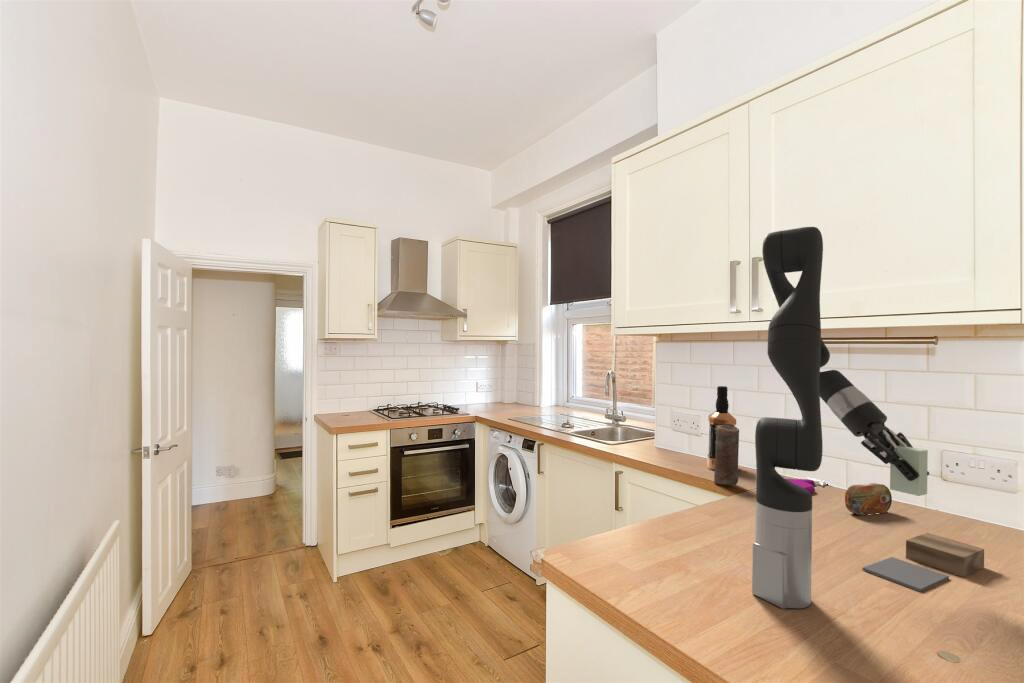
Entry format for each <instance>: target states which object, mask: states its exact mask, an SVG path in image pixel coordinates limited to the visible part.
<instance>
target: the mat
mask: <svg viewBox="0 0 1024 683" xmlns="http://www.w3.org/2000/svg"><path fill="white" fill-rule="evenodd" d="M863 570H865V571H864V572H866V571H868V572H870V573H869V574H871V573H872V574H871V575H874V574H875V575H874V576H876V575H878V576H877V577H879V576H880V578H882V577H883V578H882V579H884V578H885V580H887V579H888V580H887V581H890V582H892V581H893V583H895V584H897V585H900V584H901V586H903V587H906V588H909V589H911V590H914V591H917V592H919V593H922V592H924V591H926V590H928V589H931V588H933V587H935V586H937V585H940V584H942V583H944V582H945V581H947V580H949V579H950V576H949V575H946V574H944V573H941V572H937V571H935V570H932V569H928V568H926V567H923V566H920V565H917V564H914V563H911V562H908V561H906V560H903V559H899V558H896V557H893V556H890V557H887V558H885V559H882V560H879V561H877V562H874V563H871V564H868V565H866V566H863V567H862V571H863ZM868 572H867V573H868Z"/></svg>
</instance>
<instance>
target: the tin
mask: <svg viewBox="0 0 1024 683" xmlns="http://www.w3.org/2000/svg"><path fill="white" fill-rule="evenodd" d="M892 501H893V498H892V492H891V489H890V488H889V487H888V486H886V485H885V484H882V483H876V482H872V483H862V484H853V485H850V486H849V487H848V488H847V489H846V491H845V493H844V503H845V507H846V509H847V510H848V512H850V513H851V514H854V515H857V516H860V517H862V516H861V515H868V514H876V513H884V514H886V513H887V512H888V511H889V510H890V508H891V506H892ZM868 516H869V515H868Z"/></svg>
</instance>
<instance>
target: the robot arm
mask: <svg viewBox="0 0 1024 683" xmlns="http://www.w3.org/2000/svg"><path fill="white" fill-rule="evenodd" d="M823 252H824V241H823V234H822V232H821V230H820V229H819V228H818V227H817V226H803V227H799V228H798V227H797V228H792V229H784V230H778V231H773V232H768V234H766V235H765V237H764V238H763V240H762V261H763V265H764V269H765V272H766V275H767V278H768V280H769V283H770V286H771V290H772V292H773V295H774V297H775V299H776V302H777V306H778V310H777V311H775V313H774V315H773V316H772V317H771V320H770V322H769V324H768V330H767V331H768V332H767V352H766V353H767V357H768V359H769V361H770V363H771V364H772V366H773V368H774V369H775V371H776V372H777V374H778V375H779V376H780V378H781V379H782V380H783V382H784V383H785V384H786V386H787V387H788V389H789V390H790V392H791V394H792V395H793V397H794V399H795V401H796V404H797V405H798V407H799V410H800V415H801V418H800V419H793V418H792V419H791V418H783V417H781V418H780V417H769V416H768V417H767V416H766V417H761V418H760V419H758V421H757V423H756V426H755V433H754V434H755V435H754V437H755V438H754V440H755V441H754V445H755V446H754V448H755V465H756V486H755V488H756V490H755V542H754V543H753V544H752V578H751V579H752V580H751V589H752V590H751V593H752V594H753V595H755V596H757V597H758V598H760V599H763V600H765V601H767V602H769V603H771V604H773V605H775V606H777V607H778V608H781V609H783V610H785V609H805V608H808V607H809V606H811V604H812V554H813V553H812V551H813V550H812V549H813V548H812V544H813V538H812V537H813V535H812V534H813V532H812V531H813V495H812V494H810V492H809V491H807V490H806V489H804V488H802V487H800V486H798V485H796V484H794V483H792V482H790V481H788V480H786V479H787V478H785V477H783V476H782V475H781V474H779V473H778V471H777V470H776V468H779V469H780V468H781V469H787V470H794V471H795V470H797V471H805V472H816V471H817V470H819V469H820V467H821V464H822V461H823V450H824V449H823V430H822V415H821V414H822V412H821V399H822V401H823V402H824V403H825V404H826V405H827V406H828V407H829V409H830V410H831V412H832V414H834V415H835V416H836V417H837V419H838V420H839V421H840V422H841V423H842V424H843V425H844V426H845V427H846V428H847V429H848V431H850V433H851V434H853V436H854V437H856V438H857V437H858V438H859V437H863V438H864V439H863V440H862V441H861V442H860V444H861V446H863V447H864V448H865V449H867V450H868V451H869V452H871V454H872V455H874V456H875V457H876V458H878V459H879V460H880V461H881V462H882V463H884V464H886V465H888V464H891V465H892V466H895V467H896V468H897V469H898V470H899V471H900V472H901V473H902V474H903V475H904V476H905V477H906V478H907V479H908V480H909V481H913V480H915V479H916V478H918V477H919V476H920V475H919V473H918V472H917V471H916V470H915V469H914V468H913V467H912V466H911V465H910V464H909V463H908V462H907V461H906V460H904V458H903V457H902V455H901V454H900V453H899V452H898V451H897V448H898V447H897V446H904V447H911V448H914V447H913V446H912V444H911V443H910V442H909V440H908V438H907V437H906V436H905V435H904V433H903V432H901V431H900V432H898V433H895V432H894V431H893V430H892V429H890V428H888V426H886V425H885V423H886V422H887V420H888V416H887V415H886V414H885V413H884V412H883V411H882V410H881V409H880V408H879V407H878V406H877V405H876V404H875V403H874V402H873V401H871V400H870V398H869V397H868V396H867V395H866V394H865V393H863V392H862V391H861V390H859V389H858V388H857V387H856V386H855V385H854V384H853V383H852V382H851V381H850V380H849V378H847V377H846V376H845V375H844V374H843V373H842V372H840V371H839V370H837V369H829V370H826V371H821V368H822V367H824V366H826V365H827V364H829V362H830V358H831V353H830V351H829V349H828V347H827V345H826V344H825V343H824V340H823V339H822V335H821V334H822V323H821V302H820V301H821V282H822V270H823V269H822V268H823V256H824V255H823V254H824V253H823ZM797 272H801V274H800V277H799V279H798V282H797V284H796V285H795V287H794V286H793V284H792V283H791V282H790V281H789V280H788V278H787V276H786V273H787V274H788V273H797ZM929 475H930V472H929V470H927V477H928V476H929Z"/></svg>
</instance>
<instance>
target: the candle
mask: <svg viewBox="0 0 1024 683" xmlns="http://www.w3.org/2000/svg"><path fill="white" fill-rule="evenodd" d="M739 444H740V429H739V428H738V427H737V426H735V427H734V426H729V425H718V426H717V429H716V453H715V470H714V476H713V477H714V478H713V480H714V481H713V482H714V483H715V484H718V485H722V486H728V487H733V486H736V485H737V484H738V482H739V446H740V445H739Z"/></svg>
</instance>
